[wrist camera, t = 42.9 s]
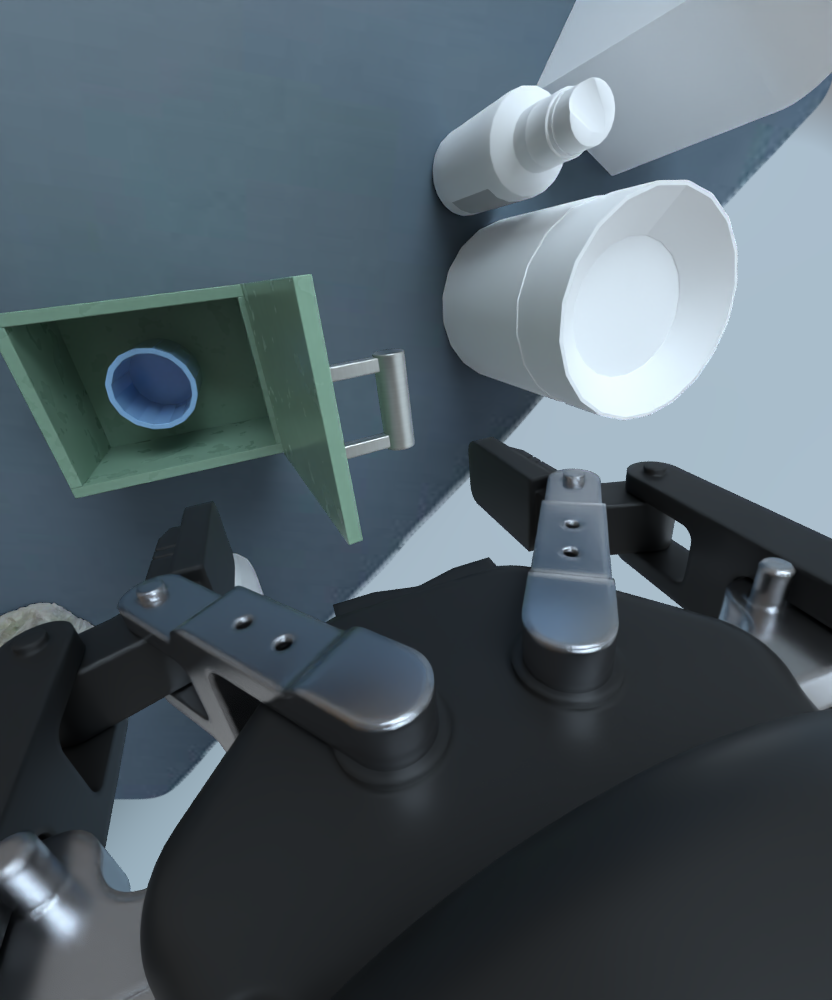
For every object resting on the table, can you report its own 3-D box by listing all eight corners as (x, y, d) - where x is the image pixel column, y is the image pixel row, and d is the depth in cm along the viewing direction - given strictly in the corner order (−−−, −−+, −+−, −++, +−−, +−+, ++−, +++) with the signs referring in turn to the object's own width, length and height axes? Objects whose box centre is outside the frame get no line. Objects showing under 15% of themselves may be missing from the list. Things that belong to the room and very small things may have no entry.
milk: (532, 94, 42) (859, -115, 20) (597, -46, 40) (1054, -461, 18) (612, 176, 48) (934, 82, 26) (673, 57, 46) (1090, -158, 23)
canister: (456, 395, 52) (565, 447, 35) (428, 237, 44) (551, 206, 27) (573, 356, 55) (724, 386, 38) (566, 203, 48) (752, 156, 31)
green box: (107, 454, 42) (75, 498, 33) (41, 308, 36) (-19, 315, 28) (277, 420, 46) (288, 451, 37) (242, 284, 40) (245, 283, 32)
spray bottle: (466, 233, 45) (586, 205, 30) (416, 176, 42) (524, 113, 27) (508, 172, 44) (654, 112, 29) (461, 109, 41) (600, 4, 26)
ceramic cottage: (34, 756, 51) (-27, 901, 38) (-107, 670, 43) (-242, 817, 30) (160, 673, 54) (143, 783, 41) (49, 578, 46) (-15, 677, 33)
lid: (348, 545, 24) (436, 515, 25) (292, 276, 18) (411, 262, 20) (284, 454, 37) (344, 438, 39) (239, 284, 31) (313, 275, 33)
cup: (119, 395, 40) (98, 415, 33) (133, 327, 38) (114, 335, 32) (193, 415, 43) (187, 438, 36) (209, 353, 41) (205, 365, 35)
